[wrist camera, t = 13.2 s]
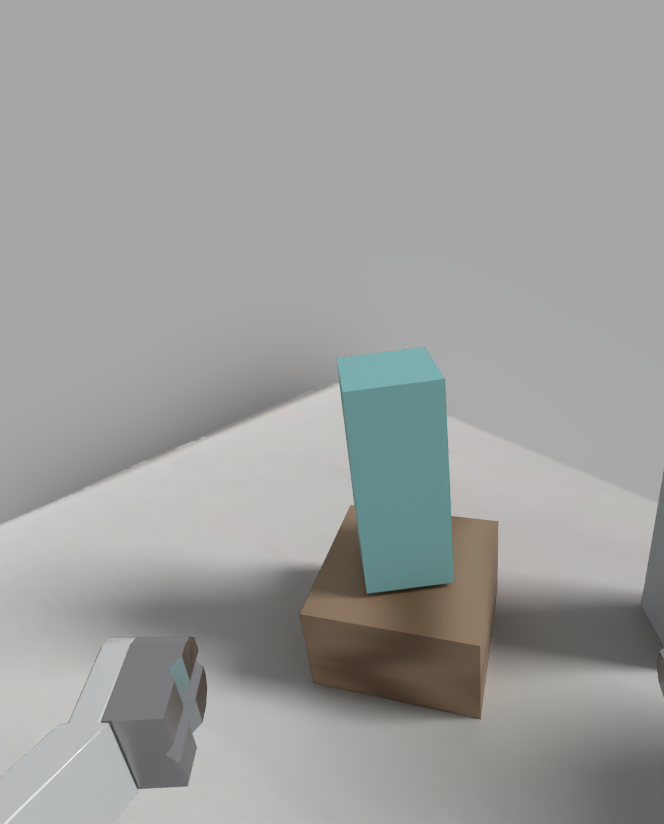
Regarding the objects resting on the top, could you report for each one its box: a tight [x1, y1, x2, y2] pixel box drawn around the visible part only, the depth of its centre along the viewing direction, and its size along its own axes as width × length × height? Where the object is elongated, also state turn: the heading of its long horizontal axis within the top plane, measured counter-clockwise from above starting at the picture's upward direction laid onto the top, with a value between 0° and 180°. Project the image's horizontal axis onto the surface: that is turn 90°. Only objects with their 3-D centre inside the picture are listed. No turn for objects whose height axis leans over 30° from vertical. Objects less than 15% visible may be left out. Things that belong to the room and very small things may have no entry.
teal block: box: [337, 347, 454, 594], centre depth 27 cm, size 4×4×10 cm
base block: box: [300, 505, 498, 719], centre depth 31 cm, size 8×8×5 cm
